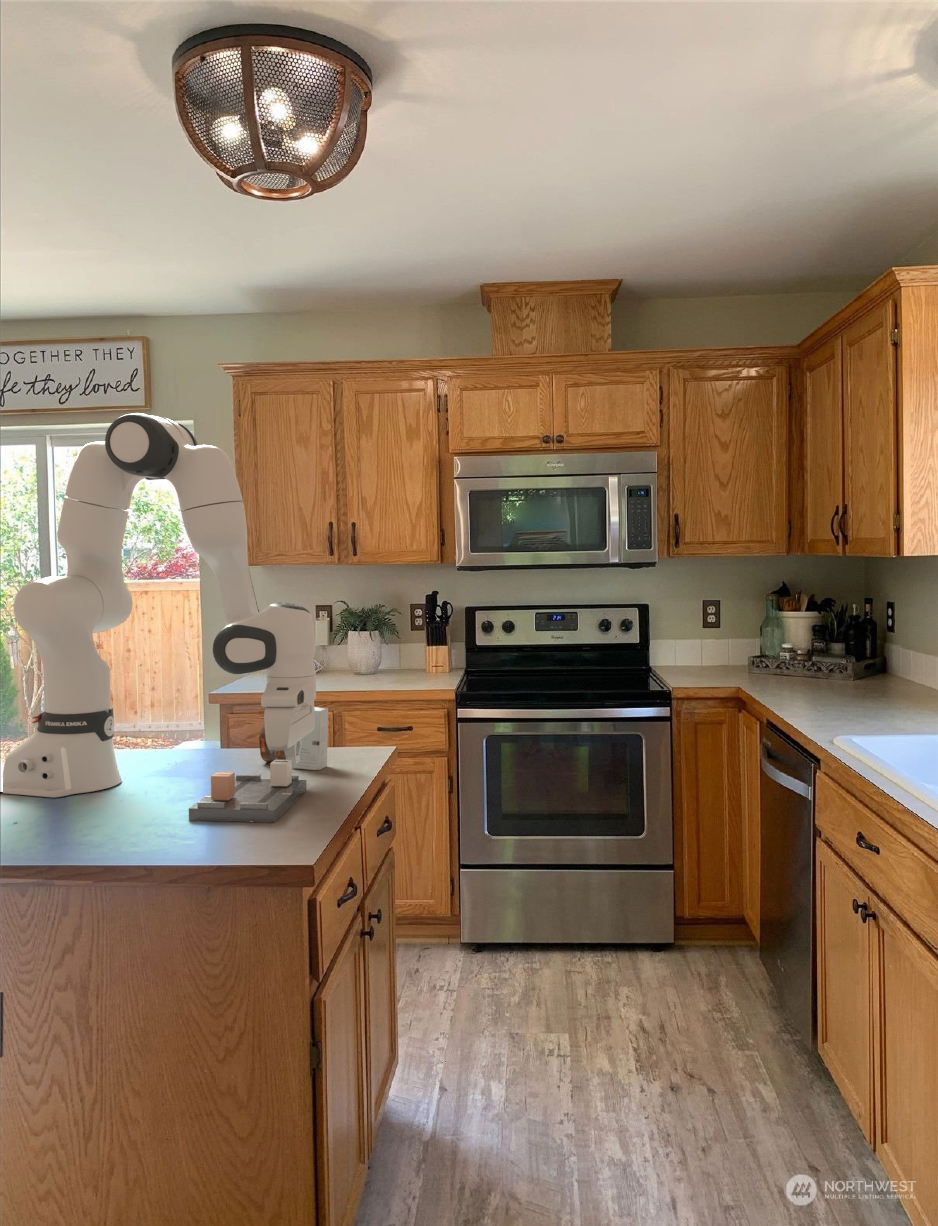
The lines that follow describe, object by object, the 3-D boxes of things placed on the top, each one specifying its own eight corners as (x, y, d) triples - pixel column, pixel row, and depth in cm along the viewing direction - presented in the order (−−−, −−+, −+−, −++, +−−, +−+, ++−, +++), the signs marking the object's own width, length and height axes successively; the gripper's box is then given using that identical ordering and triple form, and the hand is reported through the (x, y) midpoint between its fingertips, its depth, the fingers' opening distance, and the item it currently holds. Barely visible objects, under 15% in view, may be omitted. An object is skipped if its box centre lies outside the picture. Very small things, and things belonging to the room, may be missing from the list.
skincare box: (291, 769, 180) (291, 709, 180) (301, 764, 185) (300, 705, 184) (320, 770, 179) (319, 710, 178) (329, 765, 183) (328, 707, 182)
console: (188, 820, 144) (188, 803, 144) (231, 789, 164) (231, 773, 164) (274, 822, 143) (273, 805, 143) (306, 790, 163) (306, 775, 163)
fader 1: (211, 799, 148) (210, 775, 148) (217, 795, 151) (217, 771, 151) (228, 800, 148) (228, 775, 148) (234, 795, 151) (234, 771, 151)
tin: (271, 766, 183) (270, 725, 182) (256, 765, 183) (256, 725, 183) (299, 751, 197) (299, 713, 197) (286, 750, 198) (285, 713, 198)
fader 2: (270, 785, 158) (270, 762, 158) (275, 781, 161) (275, 759, 161) (287, 786, 158) (286, 763, 157) (291, 782, 161) (291, 759, 160)
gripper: (290, 683, 176) (292, 752, 176) (257, 698, 155) (259, 777, 156) (322, 683, 175) (323, 753, 176) (293, 698, 155) (294, 777, 156)
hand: (293, 764), depth 166 cm, fingers closed
